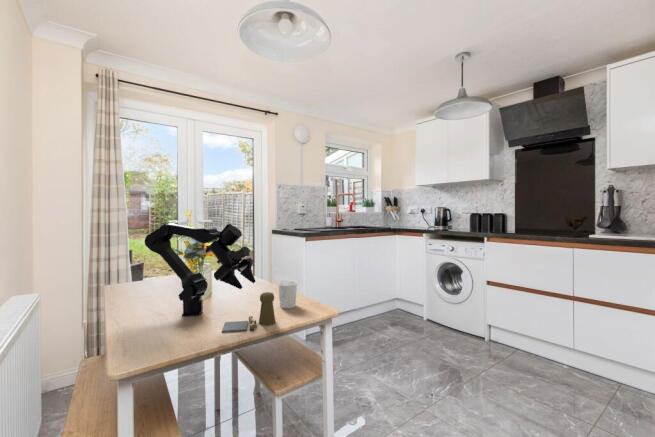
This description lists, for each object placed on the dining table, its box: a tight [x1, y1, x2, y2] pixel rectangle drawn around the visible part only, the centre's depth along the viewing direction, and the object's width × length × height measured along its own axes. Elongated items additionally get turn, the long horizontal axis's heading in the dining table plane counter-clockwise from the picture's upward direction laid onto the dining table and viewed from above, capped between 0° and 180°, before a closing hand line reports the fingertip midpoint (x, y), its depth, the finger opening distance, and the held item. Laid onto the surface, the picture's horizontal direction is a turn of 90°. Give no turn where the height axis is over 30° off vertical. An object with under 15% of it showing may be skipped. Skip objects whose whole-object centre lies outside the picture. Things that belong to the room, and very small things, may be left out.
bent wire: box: [248, 315, 257, 332], centre depth 108 cm, size 3×10×2 cm, turn 11°
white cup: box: [277, 280, 298, 310], centre depth 130 cm, size 8×8×10 cm
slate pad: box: [221, 320, 249, 334], centre depth 107 cm, size 8×8×1 cm
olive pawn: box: [258, 291, 276, 327], centre depth 111 cm, size 6×6×11 cm
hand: (248, 285), depth 113 cm, fingers open, 9 cm apart
